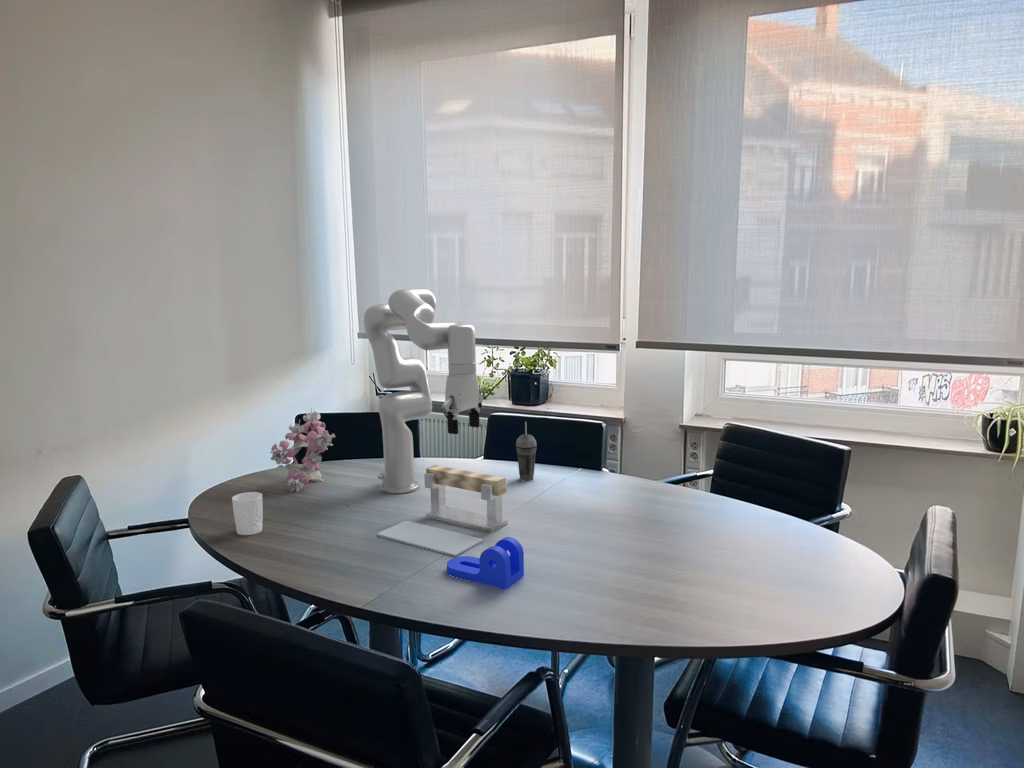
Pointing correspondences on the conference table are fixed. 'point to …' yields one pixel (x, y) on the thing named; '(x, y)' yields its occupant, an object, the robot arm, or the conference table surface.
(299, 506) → the conference table surface
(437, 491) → the rail stand
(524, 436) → the beverage cup
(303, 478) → the flower
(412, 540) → the mat
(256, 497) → the white cup
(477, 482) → the rail
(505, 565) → the bracket
